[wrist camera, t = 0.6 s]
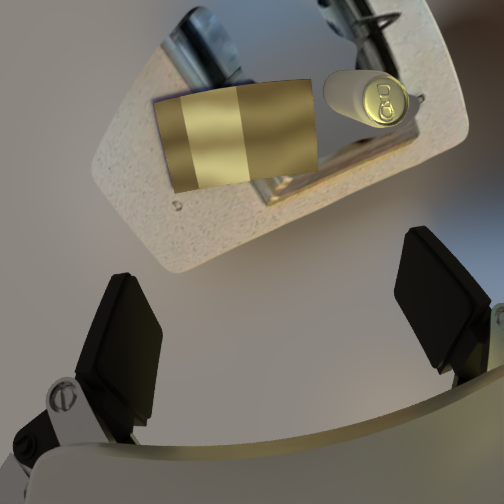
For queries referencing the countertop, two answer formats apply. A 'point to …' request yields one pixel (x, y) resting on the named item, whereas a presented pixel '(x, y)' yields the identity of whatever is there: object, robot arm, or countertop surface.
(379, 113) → the can
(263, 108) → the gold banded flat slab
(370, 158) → the countertop surface
